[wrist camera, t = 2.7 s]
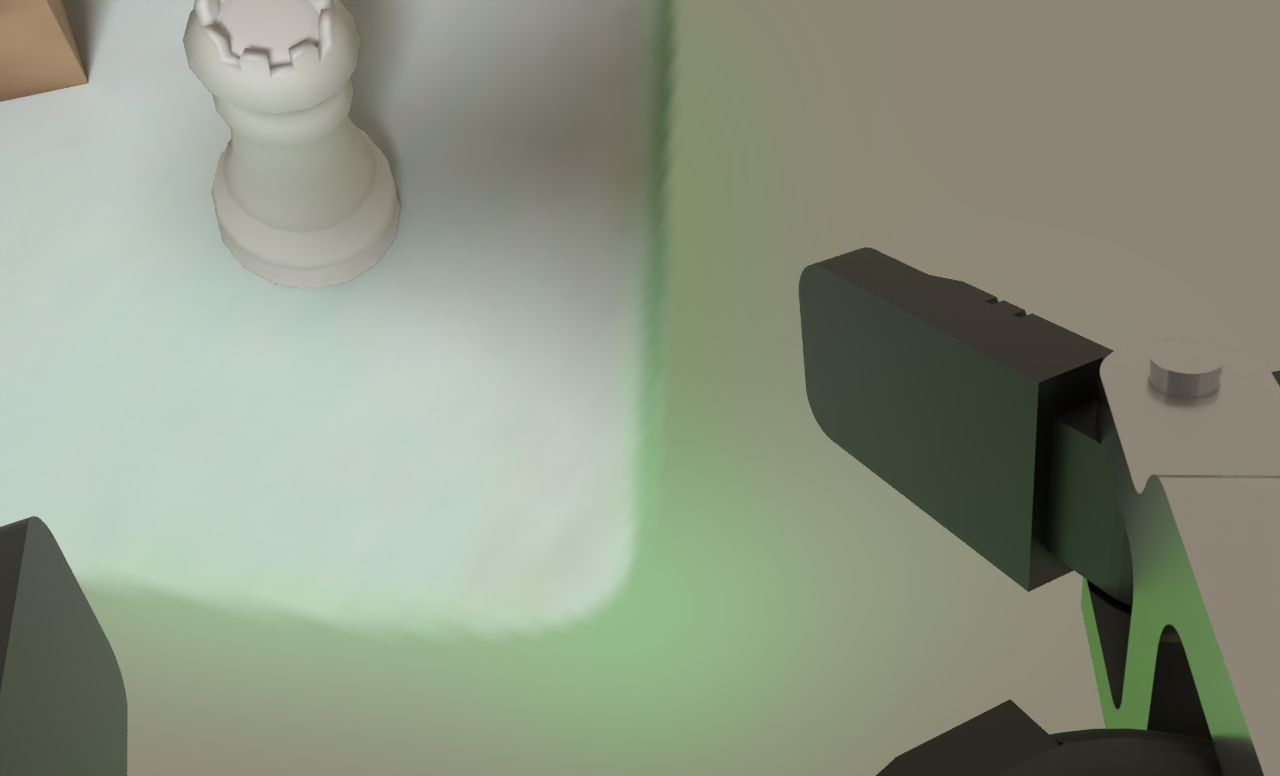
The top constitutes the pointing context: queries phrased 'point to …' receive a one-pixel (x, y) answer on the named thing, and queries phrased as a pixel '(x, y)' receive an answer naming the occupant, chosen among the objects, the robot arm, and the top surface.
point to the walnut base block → (37, 49)
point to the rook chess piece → (292, 140)
